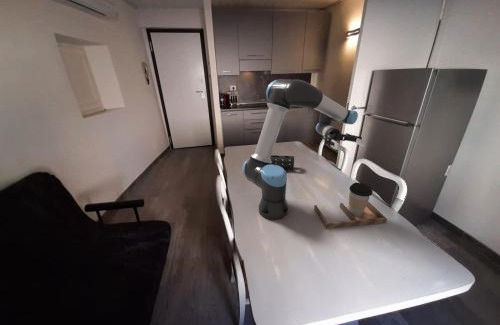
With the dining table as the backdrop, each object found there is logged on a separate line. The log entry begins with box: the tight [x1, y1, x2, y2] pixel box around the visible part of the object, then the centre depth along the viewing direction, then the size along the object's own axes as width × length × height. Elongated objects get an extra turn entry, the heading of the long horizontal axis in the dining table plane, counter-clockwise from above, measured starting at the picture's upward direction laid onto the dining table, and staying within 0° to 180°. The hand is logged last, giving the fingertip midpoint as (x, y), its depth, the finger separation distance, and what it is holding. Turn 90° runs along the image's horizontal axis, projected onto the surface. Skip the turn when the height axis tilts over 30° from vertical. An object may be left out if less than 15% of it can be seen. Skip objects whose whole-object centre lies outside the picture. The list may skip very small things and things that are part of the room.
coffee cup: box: [348, 182, 373, 217], centre depth 93 cm, size 9×9×15 cm
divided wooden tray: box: [313, 201, 388, 230], centre depth 95 cm, size 28×14×2 cm, turn 95°
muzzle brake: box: [270, 154, 295, 170], centre depth 143 cm, size 10×28×10 cm, turn 79°
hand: (351, 145), depth 97 cm, fingers open, 13 cm apart
